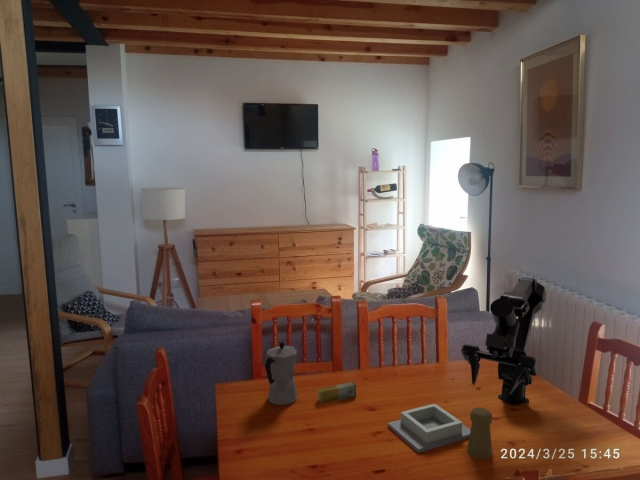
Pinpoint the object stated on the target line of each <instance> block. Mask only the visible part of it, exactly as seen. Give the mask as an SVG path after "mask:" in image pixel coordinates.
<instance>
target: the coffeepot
mask: <svg viewBox="0 0 640 480" xmlns="http://www.w3.org/2000/svg"><path fill="white" fill-rule="evenodd" d="M278 345H279V346H276V347H272V348H268V350H267V352H266V357H267V358H266V361H265V363H264V368H265V372H266V376H267V379H268V383H269V389H268V390H269V391H268V395H267V401H269V403H271V404H273V405H275V406H276V405H277V406H286V405H290V404H293V403H295V402H296V401H297V399H298V398H297V397H298V392H297V387H296V382H295V380H296V379H295V377H294V373H295V367H296V359H297V351H298V350H297V349H296V348H295V346H294V345H293V346H292V345H290V344H289V345H285V342H284V341H280V342H279V343H278Z"/></svg>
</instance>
